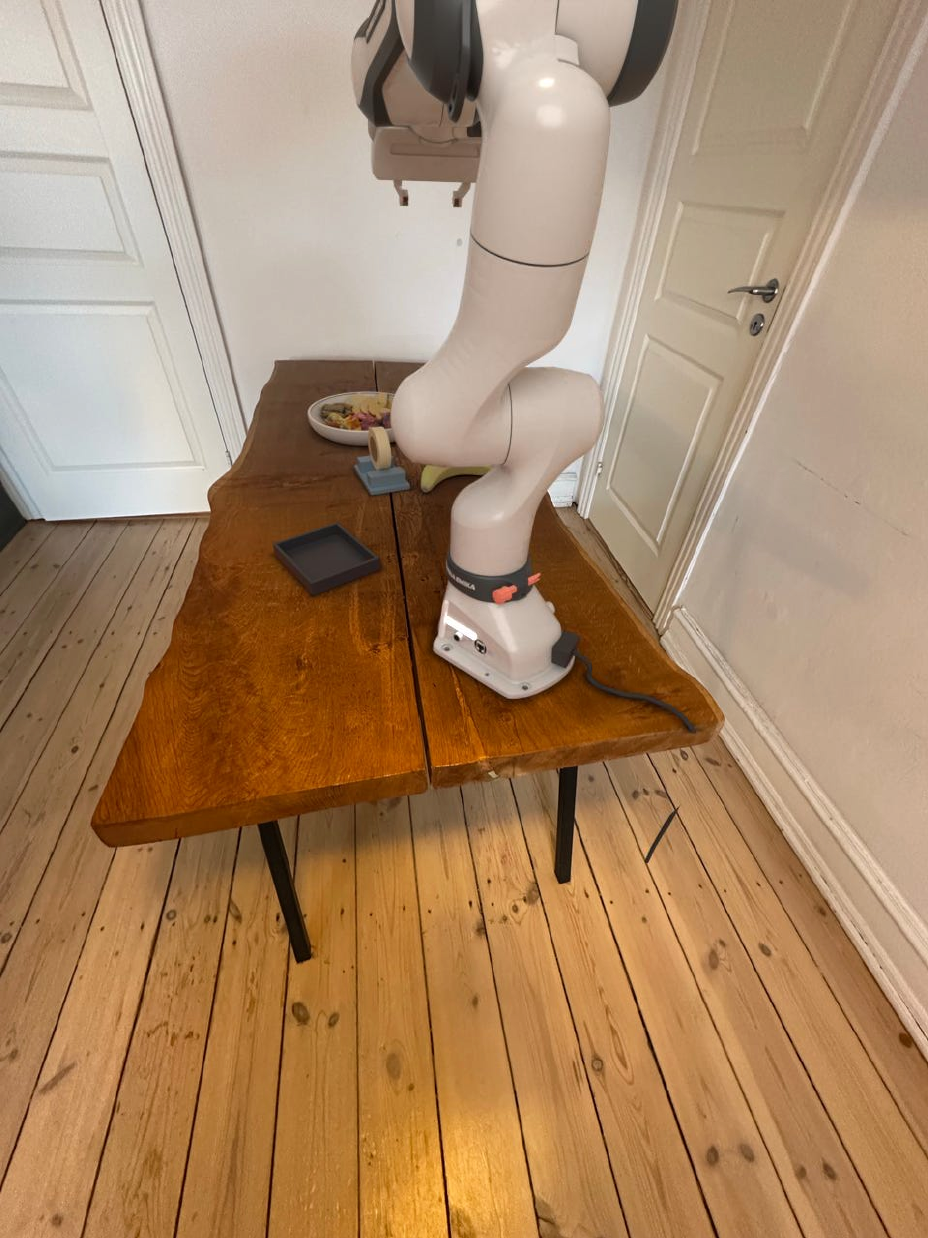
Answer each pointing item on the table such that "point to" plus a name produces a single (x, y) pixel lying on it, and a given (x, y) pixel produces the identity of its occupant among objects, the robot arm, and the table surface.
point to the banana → (446, 474)
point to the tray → (326, 557)
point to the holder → (380, 477)
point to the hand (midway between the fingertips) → (430, 204)
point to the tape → (379, 448)
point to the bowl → (352, 416)
